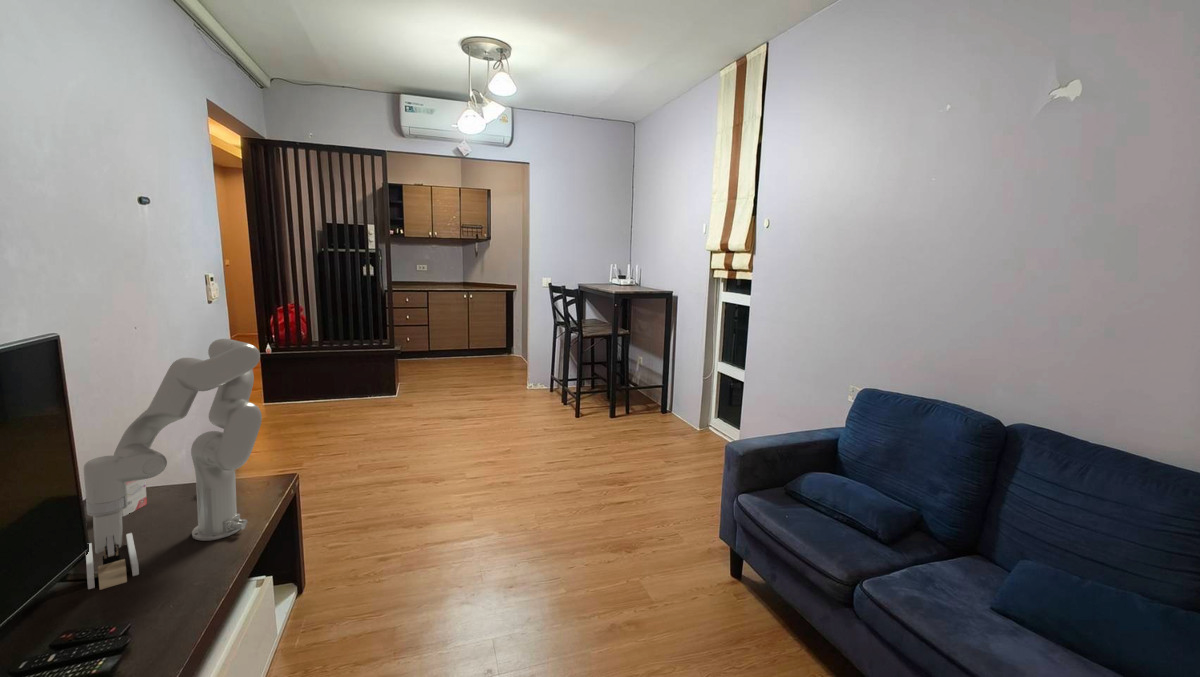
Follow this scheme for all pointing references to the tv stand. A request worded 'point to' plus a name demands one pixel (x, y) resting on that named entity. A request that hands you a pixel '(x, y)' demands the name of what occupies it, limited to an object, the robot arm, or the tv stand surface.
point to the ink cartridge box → (135, 496)
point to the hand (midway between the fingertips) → (112, 568)
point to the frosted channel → (131, 555)
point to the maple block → (112, 574)
